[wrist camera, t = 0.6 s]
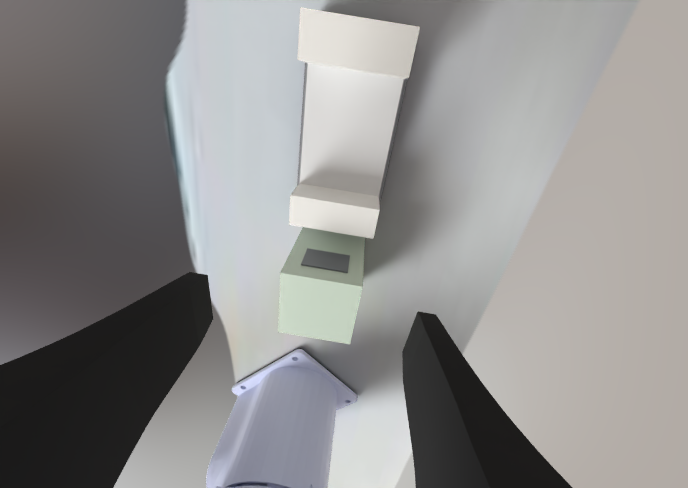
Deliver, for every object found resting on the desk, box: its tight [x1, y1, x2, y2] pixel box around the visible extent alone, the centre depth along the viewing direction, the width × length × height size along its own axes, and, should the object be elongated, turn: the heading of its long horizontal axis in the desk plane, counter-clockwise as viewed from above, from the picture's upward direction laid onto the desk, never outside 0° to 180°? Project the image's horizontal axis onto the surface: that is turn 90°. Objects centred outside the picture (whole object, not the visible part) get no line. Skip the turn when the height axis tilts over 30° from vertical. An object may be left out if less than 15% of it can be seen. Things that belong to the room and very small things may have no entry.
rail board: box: [289, 7, 420, 239], centre depth 14 cm, size 9×5×3 cm, turn 172°
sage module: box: [278, 227, 365, 344], centre depth 17 cm, size 4×4×6 cm
